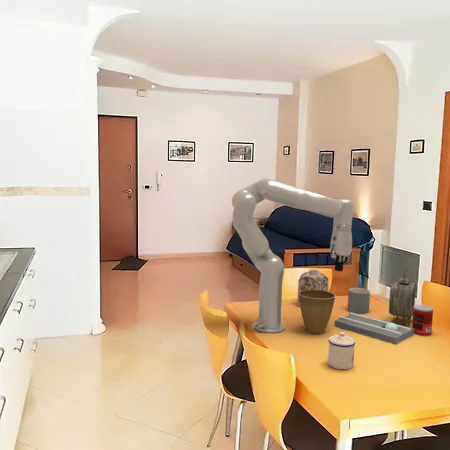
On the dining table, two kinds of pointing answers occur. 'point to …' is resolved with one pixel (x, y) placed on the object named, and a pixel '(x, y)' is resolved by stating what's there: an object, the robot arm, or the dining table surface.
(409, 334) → the board
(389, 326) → the ball
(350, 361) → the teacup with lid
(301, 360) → the dining table surface
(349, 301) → the coffee mug
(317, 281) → the decorative jar
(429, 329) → the canned food
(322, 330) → the plant pot
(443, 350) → the dining table surface
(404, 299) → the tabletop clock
